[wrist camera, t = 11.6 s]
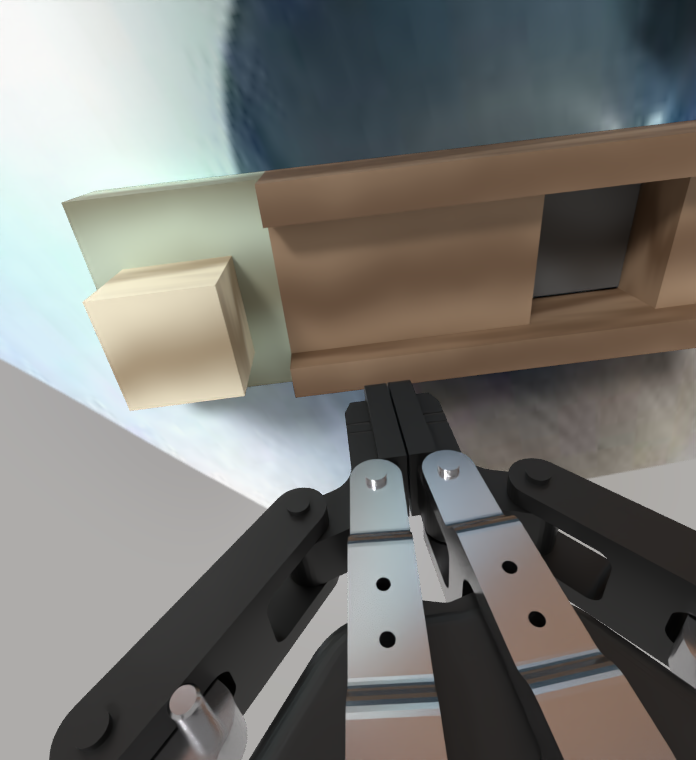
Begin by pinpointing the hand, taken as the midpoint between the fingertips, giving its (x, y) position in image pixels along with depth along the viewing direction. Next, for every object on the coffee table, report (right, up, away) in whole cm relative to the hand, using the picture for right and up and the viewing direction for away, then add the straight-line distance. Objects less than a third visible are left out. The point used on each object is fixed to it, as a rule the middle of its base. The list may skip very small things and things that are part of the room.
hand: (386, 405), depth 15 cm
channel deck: (+2, +9, +15) cm, 17 cm away
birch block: (-10, +5, +11) cm, 16 cm away
